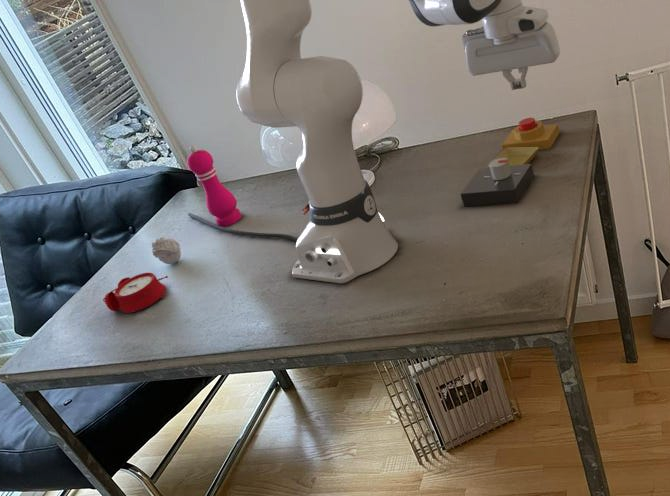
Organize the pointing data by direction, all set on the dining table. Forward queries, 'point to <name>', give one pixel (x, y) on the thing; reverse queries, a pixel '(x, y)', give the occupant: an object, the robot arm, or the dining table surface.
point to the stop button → (527, 124)
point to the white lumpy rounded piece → (166, 250)
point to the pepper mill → (213, 188)
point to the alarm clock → (135, 293)
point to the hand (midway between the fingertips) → (519, 88)
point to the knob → (500, 168)
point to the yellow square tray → (518, 155)
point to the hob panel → (497, 187)
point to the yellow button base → (532, 137)
